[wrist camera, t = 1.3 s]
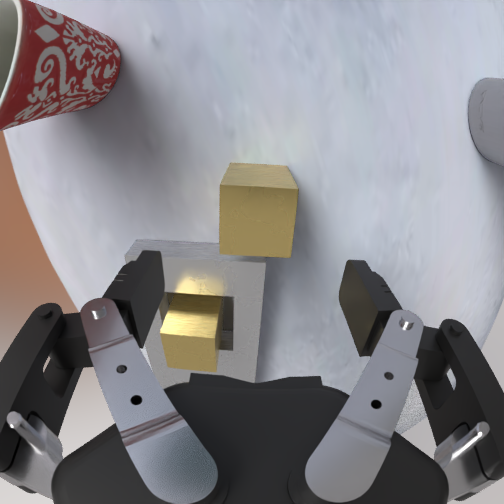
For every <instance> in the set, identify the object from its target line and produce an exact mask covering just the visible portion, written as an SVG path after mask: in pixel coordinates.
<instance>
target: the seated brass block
mask: <svg viewBox="0 0 504 504" xmlns="http://www.w3.org/2000/svg"><path fill="white" fill-rule="evenodd" d="M222 328H223V296H216V295H201V294H187V293H175V294H174V296H173V299H172V301H171V304H170V307H169V309H168V312H167V315H166V317H165V320H164V323H163V325H162V328H161V331H160V336H161V341H162V345H163V350H164V354H165V358H166V362H167V366H168V367H169V368H177V369H185V370H195V371H205V372H217V366H218V358H219V350H220V343H221V335H222Z"/></svg>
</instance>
